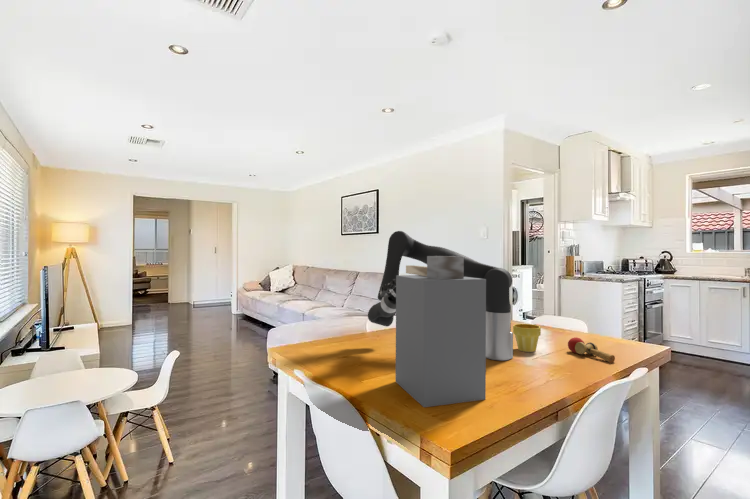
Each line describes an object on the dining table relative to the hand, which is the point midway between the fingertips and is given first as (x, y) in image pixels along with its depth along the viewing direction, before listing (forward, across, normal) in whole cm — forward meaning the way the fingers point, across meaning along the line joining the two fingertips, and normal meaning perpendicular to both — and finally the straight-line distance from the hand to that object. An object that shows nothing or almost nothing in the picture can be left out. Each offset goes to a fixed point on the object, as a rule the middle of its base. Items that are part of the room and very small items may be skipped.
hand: (407, 281), depth 131 cm
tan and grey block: (+15, 0, +6) cm, 16 cm away
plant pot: (-21, +55, +22) cm, 63 cm away
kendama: (-8, +72, +30) cm, 78 cm away
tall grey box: (+5, 0, +37) cm, 37 cm away
